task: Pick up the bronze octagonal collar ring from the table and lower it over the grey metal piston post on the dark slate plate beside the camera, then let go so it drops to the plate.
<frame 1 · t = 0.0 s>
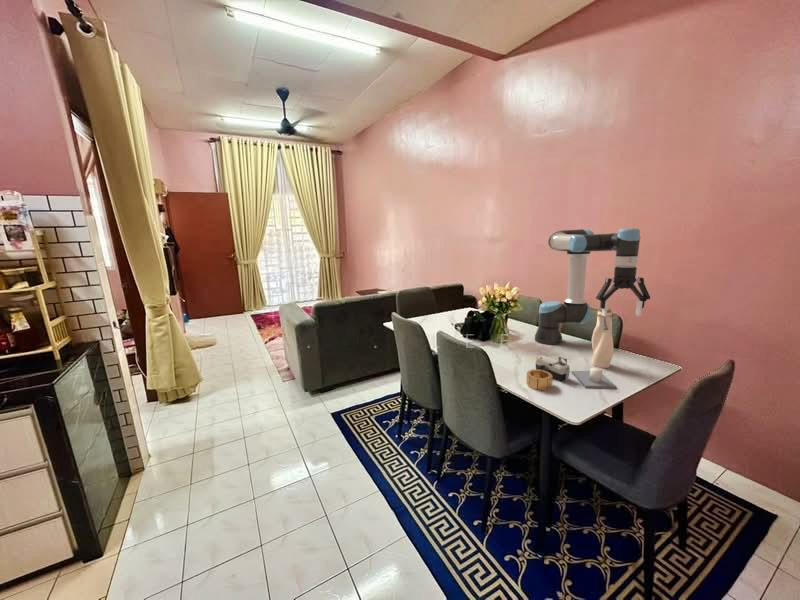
hand: (620, 315, 139), 28 cm above the table, fingers open, 13 cm apart
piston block: (595, 382, 139), on the table
camera: (550, 375, 148), on the table
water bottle: (601, 365, 156), on the table
ring: (538, 384, 139), on the table
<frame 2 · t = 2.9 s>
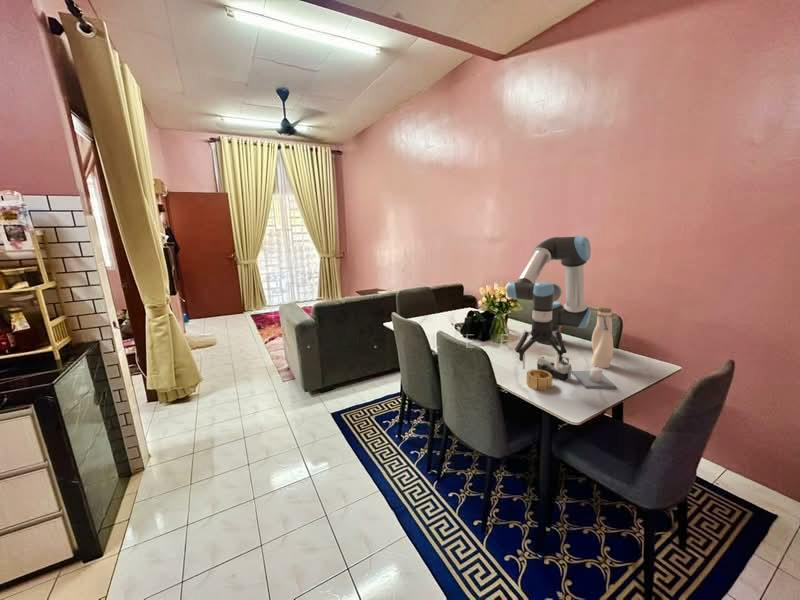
hand: (539, 368, 137), 8 cm above the table, fingers open, 13 cm apart
camera: (552, 375, 149), on the table
everything else where it was.
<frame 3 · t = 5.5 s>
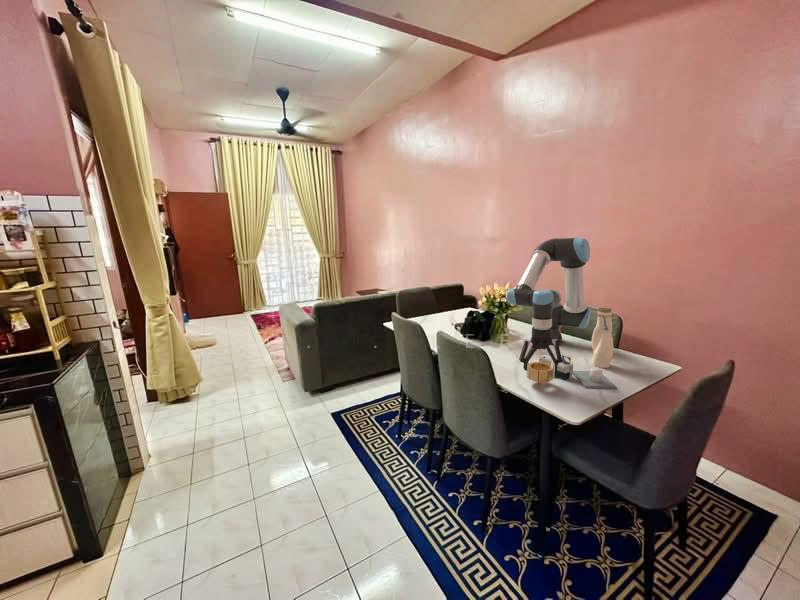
hand: (539, 376, 139), 4 cm above the table, fingers closed on ring, 10 cm apart
camera: (554, 374, 149), on the table
ring: (539, 377, 139), point 3 cm above the table, touching gripper
everything else where it was.
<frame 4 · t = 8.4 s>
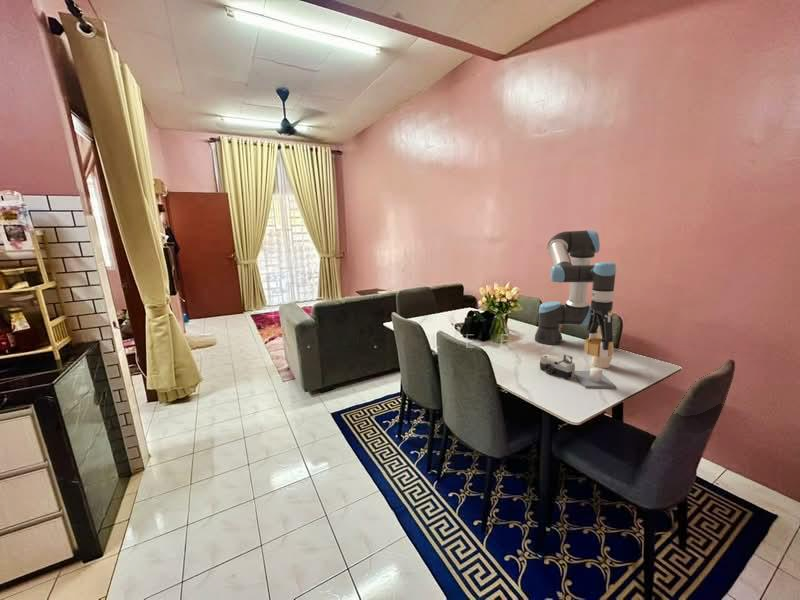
hand: (597, 352, 136), 14 cm above the table, fingers closed on ring, 10 cm apart
camera: (555, 374, 150), on the table
ring: (597, 352, 136), point 14 cm above the table, touching gripper
everything else where it was.
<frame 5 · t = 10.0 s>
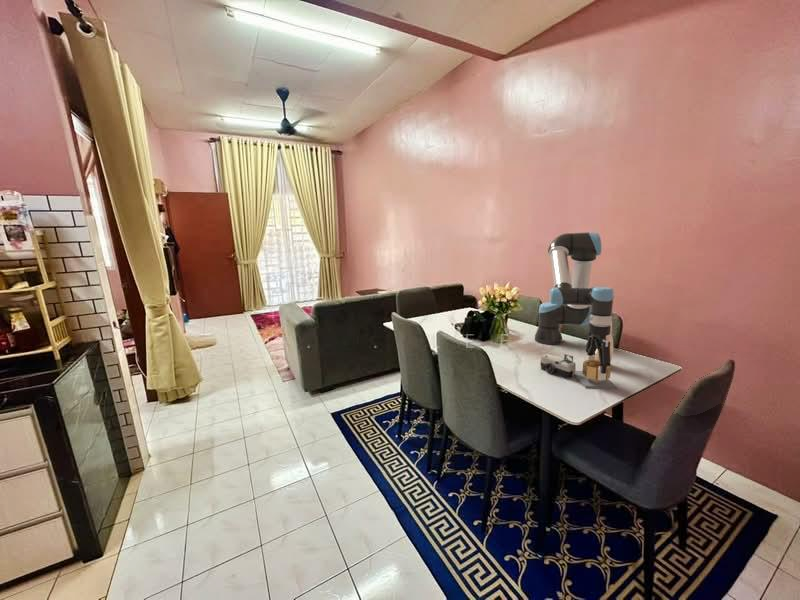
hand: (595, 374, 138), 4 cm above the table, fingers closed on ring, 10 cm apart
ring: (596, 375, 138), point 4 cm above the table, touching gripper
when the fingers open (3 cm above the table, at t = 11.1 s): ring drops 2 cm, resting on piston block.
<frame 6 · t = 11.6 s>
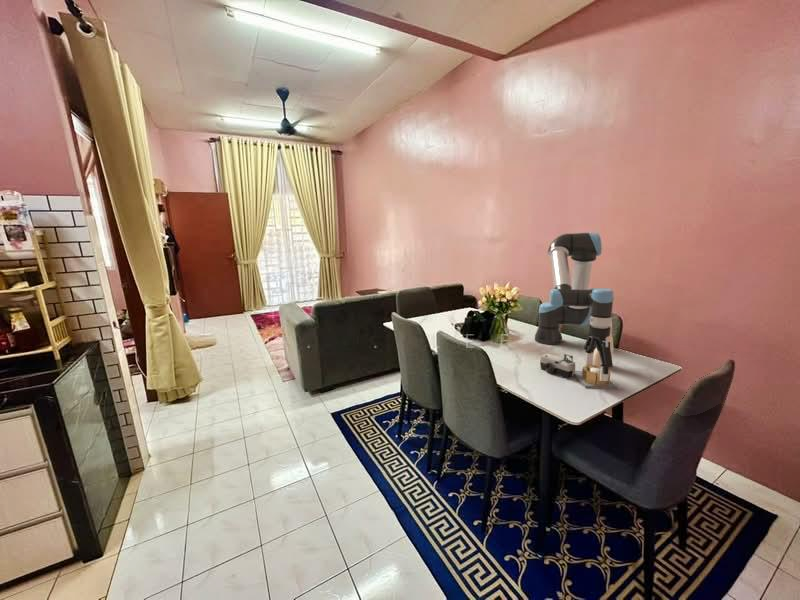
hand: (595, 373, 138), 4 cm above the table, fingers open, 13 cm apart
ring: (595, 380, 139), point 1 cm above the table, touching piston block
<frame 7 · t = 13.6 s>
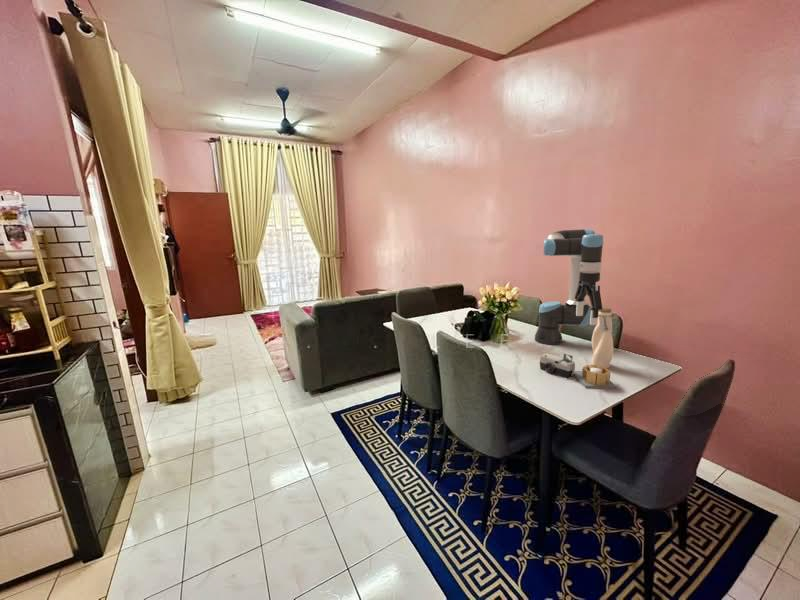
hand: (586, 320, 141), 26 cm above the table, fingers open, 13 cm apart
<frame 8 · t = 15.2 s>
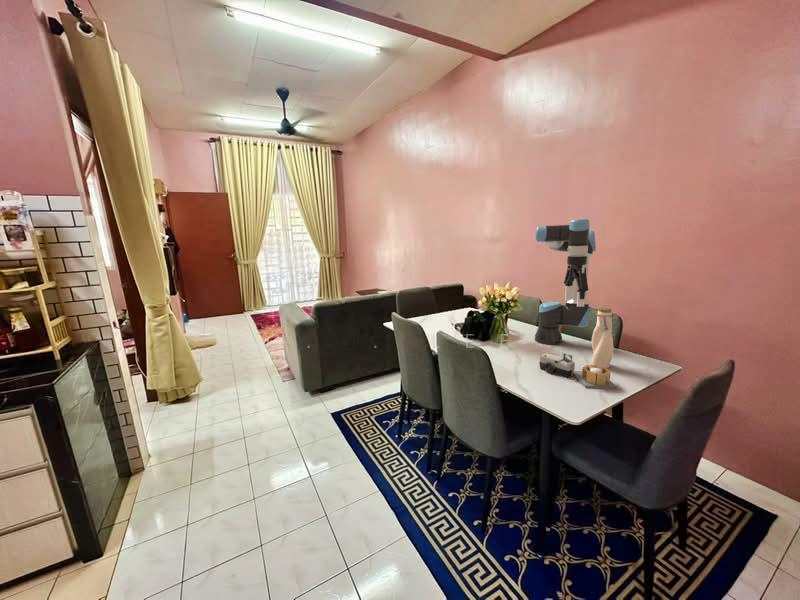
hand: (574, 303, 145), 33 cm above the table, fingers open, 13 cm apart
at the end: ring 0.1 cm from the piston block (horizontally); ring point 1.0 cm above the table; ring tilted 0° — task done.
